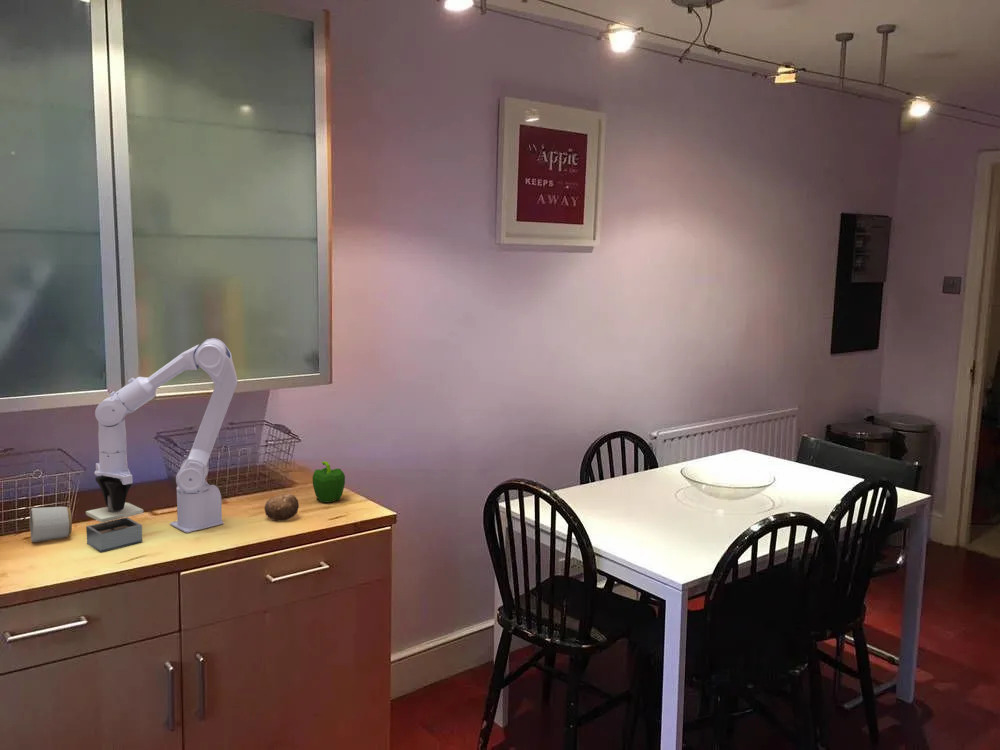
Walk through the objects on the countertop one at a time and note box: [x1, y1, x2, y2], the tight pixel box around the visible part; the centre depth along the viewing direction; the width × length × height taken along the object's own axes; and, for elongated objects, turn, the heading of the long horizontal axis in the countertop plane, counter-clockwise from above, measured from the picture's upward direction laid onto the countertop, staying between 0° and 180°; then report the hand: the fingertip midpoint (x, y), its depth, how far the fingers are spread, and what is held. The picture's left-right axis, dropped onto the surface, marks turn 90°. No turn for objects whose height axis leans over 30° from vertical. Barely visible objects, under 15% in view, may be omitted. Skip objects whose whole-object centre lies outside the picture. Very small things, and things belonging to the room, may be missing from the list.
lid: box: [85, 495, 144, 523], centre depth 190 cm, size 10×8×4 cm
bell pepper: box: [312, 461, 346, 503], centre depth 217 cm, size 8×8×10 cm
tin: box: [85, 516, 143, 553], centre depth 183 cm, size 9×7×4 cm
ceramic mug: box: [29, 506, 73, 543], centre depth 185 cm, size 10×8×7 cm
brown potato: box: [264, 493, 300, 522], centre depth 203 cm, size 8×8×6 cm
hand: (115, 508), depth 191 cm, fingers closed on lid, 3 cm apart
